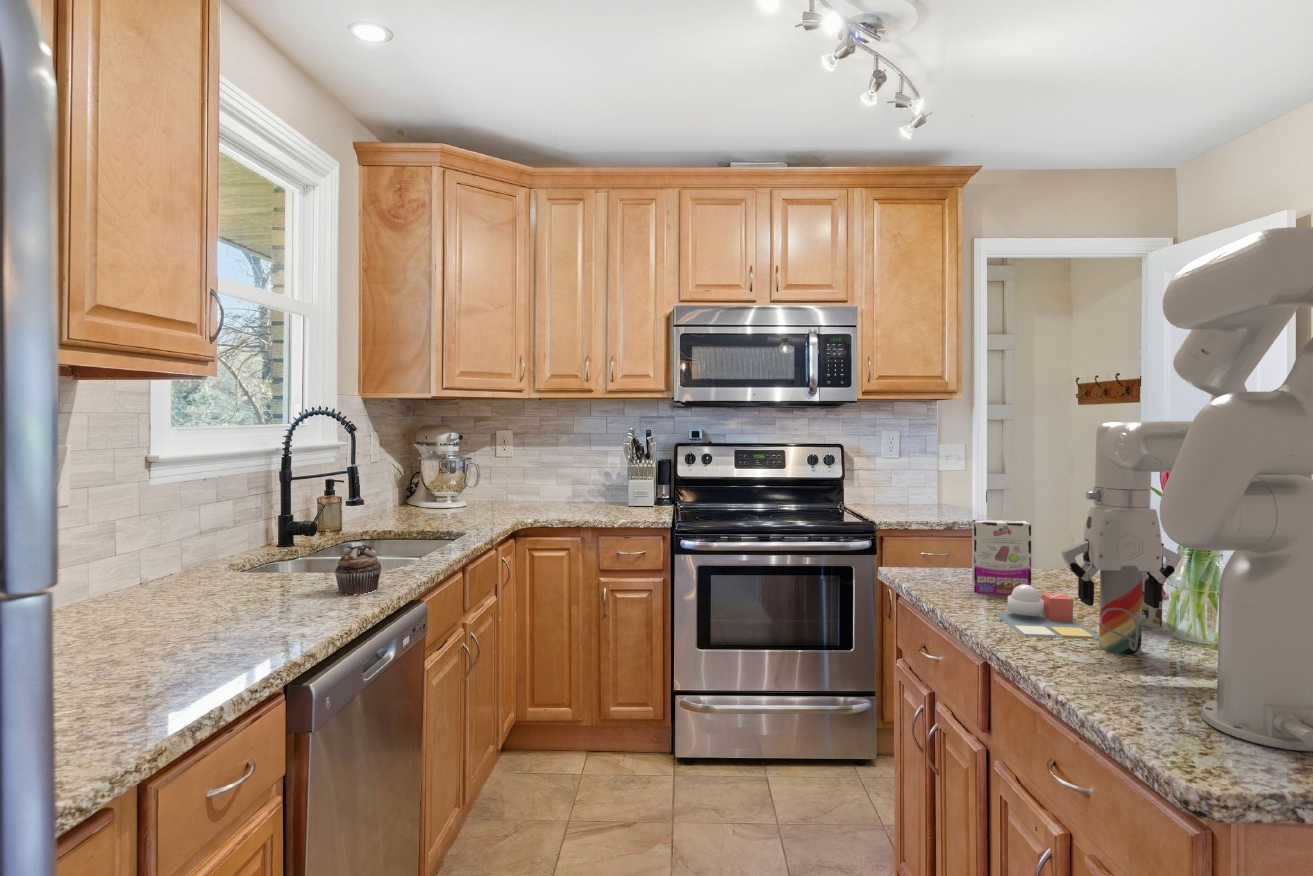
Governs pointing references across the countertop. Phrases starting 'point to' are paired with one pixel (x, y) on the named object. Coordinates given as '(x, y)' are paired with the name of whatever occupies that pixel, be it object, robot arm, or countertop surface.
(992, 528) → the candy bar box
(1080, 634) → the pad
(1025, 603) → the dome
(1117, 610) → the lotion bottle
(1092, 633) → the game board
